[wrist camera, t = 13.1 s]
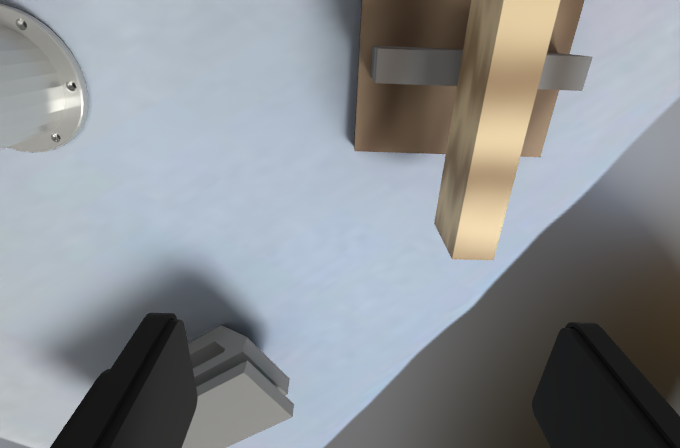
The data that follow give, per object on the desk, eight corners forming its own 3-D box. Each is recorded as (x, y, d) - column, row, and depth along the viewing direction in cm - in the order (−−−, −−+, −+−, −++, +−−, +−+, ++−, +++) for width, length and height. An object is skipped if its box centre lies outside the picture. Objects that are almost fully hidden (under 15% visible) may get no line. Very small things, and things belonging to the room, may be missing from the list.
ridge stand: (354, 146, 38) (357, 168, 32) (364, -49, 31) (370, -67, 25) (533, 152, 38) (567, 174, 33) (585, -39, 31) (641, -55, 25)
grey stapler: (162, 412, 56) (125, 493, 46) (120, 381, 53) (72, 460, 43) (300, 341, 50) (292, 417, 40) (263, 301, 47) (243, 372, 37)
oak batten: (498, -165, 23) (548, -223, 18) (551, -162, 23) (616, -219, 18) (434, 223, 35) (452, 259, 29) (469, 224, 35) (493, 260, 29)
